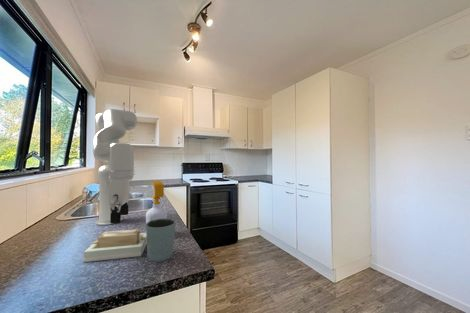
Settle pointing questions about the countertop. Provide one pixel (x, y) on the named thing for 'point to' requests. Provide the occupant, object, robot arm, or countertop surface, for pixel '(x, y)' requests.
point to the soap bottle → (156, 203)
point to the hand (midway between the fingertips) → (120, 218)
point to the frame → (119, 238)
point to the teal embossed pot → (160, 239)
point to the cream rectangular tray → (115, 251)
